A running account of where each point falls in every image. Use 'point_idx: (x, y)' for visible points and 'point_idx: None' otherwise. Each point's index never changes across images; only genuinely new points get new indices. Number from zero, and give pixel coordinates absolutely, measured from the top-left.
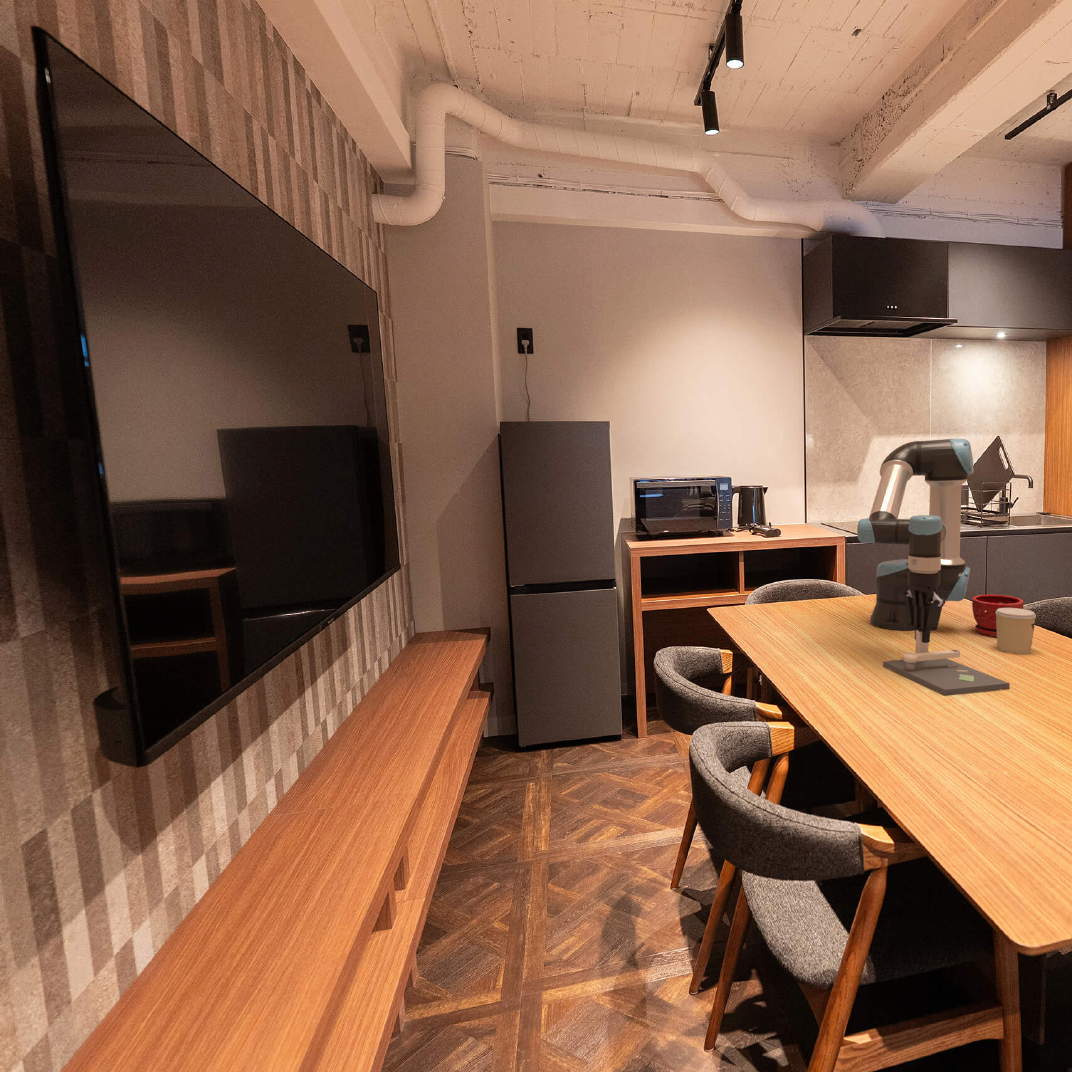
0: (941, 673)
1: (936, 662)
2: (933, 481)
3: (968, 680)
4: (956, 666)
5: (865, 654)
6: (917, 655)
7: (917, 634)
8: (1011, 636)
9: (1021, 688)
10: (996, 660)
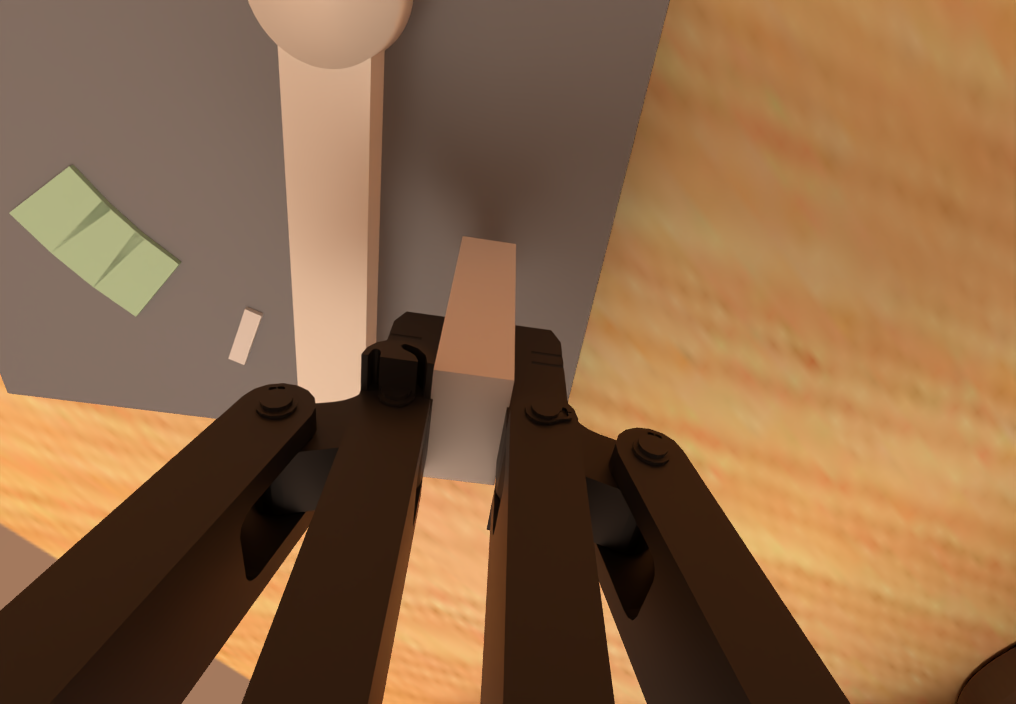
0: (232, 172)
1: None
2: None
3: (35, 206)
4: None
5: (977, 89)
6: (271, 38)
7: (484, 342)
8: None
9: (45, 424)
10: (443, 621)
